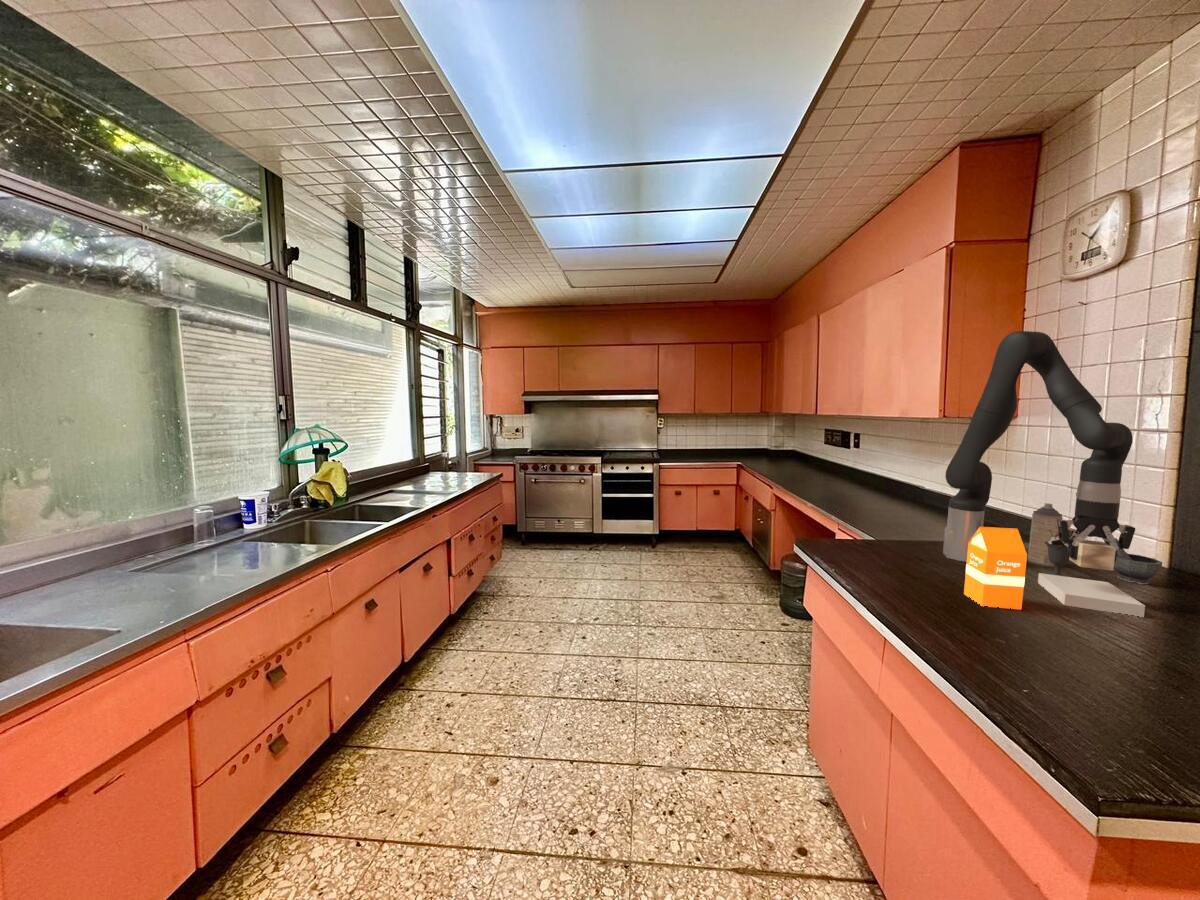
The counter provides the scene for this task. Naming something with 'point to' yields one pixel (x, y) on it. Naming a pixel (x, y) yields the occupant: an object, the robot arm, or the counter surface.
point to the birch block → (1095, 555)
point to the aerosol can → (1042, 534)
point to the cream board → (1090, 594)
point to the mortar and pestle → (1135, 566)
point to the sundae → (1057, 553)
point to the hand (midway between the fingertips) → (1090, 560)
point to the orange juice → (996, 568)
